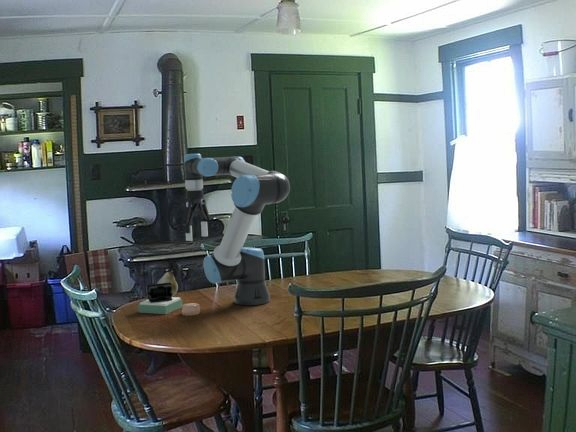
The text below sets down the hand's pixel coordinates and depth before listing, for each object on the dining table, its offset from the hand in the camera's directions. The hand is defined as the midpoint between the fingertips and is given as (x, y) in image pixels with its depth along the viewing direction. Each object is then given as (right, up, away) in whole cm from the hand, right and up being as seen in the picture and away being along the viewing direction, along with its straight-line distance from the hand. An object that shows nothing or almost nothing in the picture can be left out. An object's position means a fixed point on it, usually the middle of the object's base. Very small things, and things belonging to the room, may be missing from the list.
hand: (197, 238), depth 301 cm
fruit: (-15, -27, +9) cm, 32 cm away
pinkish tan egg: (0, -29, -23) cm, 37 cm away
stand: (-13, -29, -14) cm, 35 cm away
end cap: (-13, -25, -14) cm, 32 cm away
